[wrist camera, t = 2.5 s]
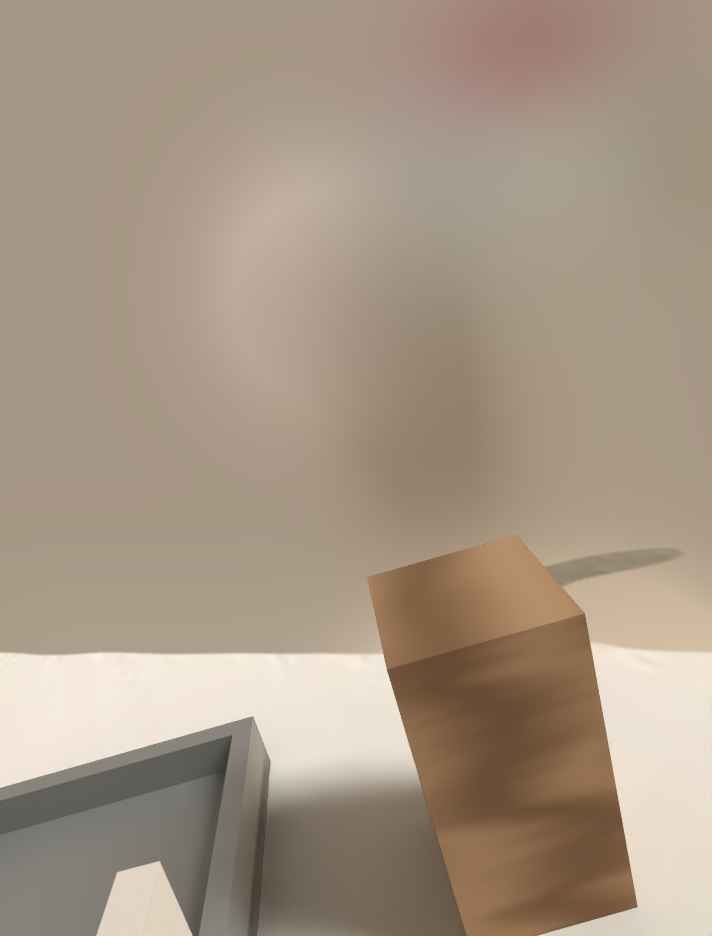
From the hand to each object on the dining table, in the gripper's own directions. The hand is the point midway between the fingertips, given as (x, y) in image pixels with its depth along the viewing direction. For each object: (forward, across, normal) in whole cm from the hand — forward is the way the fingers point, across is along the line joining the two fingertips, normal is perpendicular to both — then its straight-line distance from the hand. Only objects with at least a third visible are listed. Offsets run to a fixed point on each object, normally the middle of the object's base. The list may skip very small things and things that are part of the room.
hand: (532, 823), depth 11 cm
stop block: (+10, +1, -13) cm, 16 cm away
